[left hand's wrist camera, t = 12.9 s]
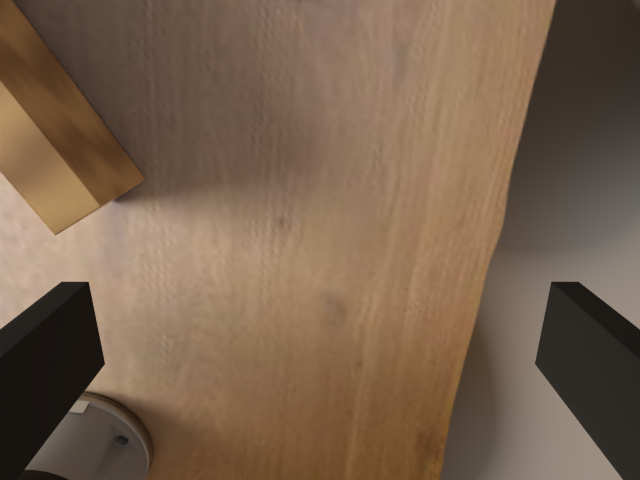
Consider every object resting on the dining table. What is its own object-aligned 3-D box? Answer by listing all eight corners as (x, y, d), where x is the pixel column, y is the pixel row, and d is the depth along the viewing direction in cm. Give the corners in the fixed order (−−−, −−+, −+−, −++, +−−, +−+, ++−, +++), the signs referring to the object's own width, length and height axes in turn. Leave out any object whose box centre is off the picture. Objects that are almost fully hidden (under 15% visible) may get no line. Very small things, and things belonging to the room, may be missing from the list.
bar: (146, 179, 39) (101, 206, 31) (107, 203, 40) (54, 235, 32) (-40, -71, 33) (-157, -117, 25) (-81, -36, 33) (-207, -70, 26)
